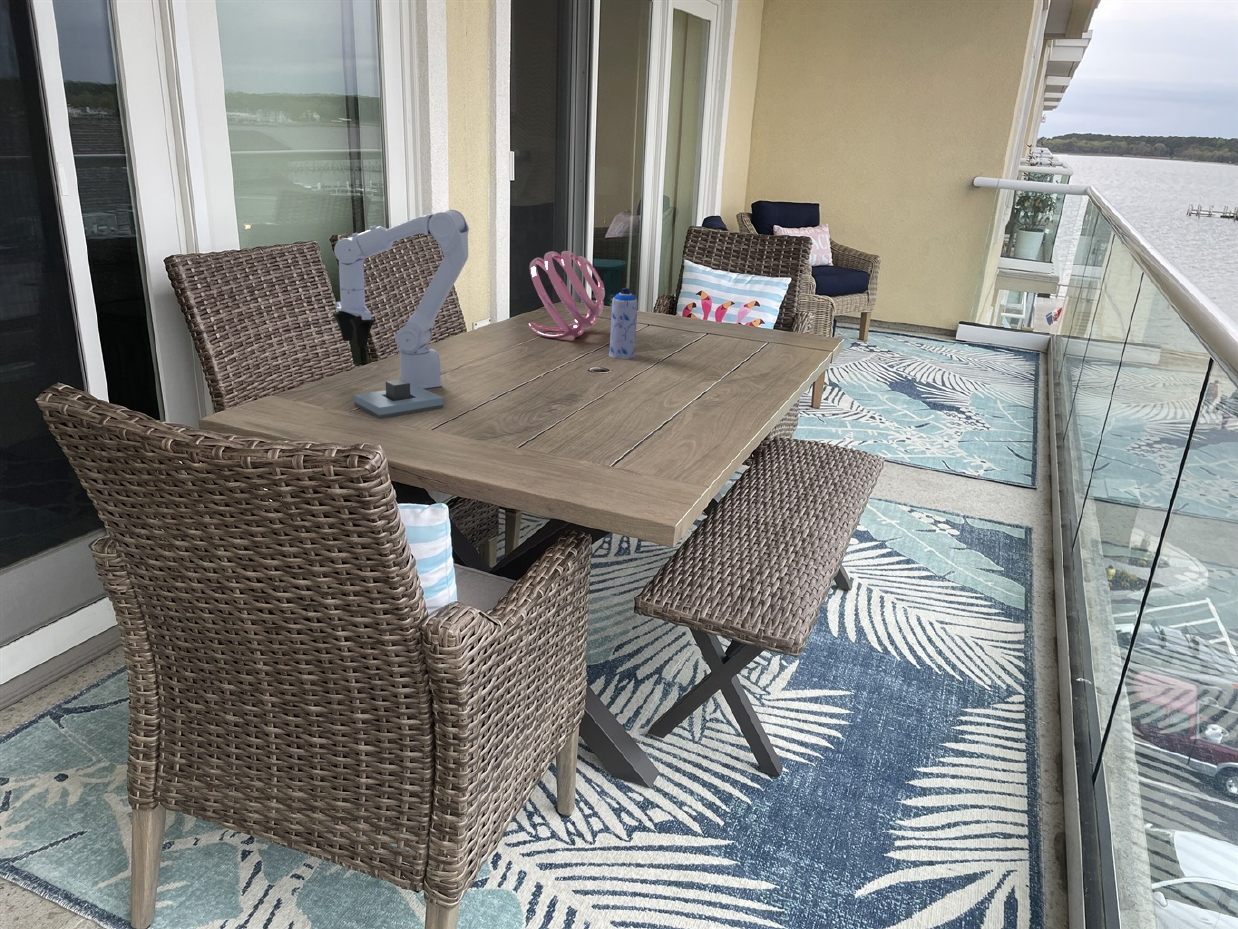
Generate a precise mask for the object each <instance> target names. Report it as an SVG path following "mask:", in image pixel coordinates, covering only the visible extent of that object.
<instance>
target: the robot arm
mask: <svg viewBox="0 0 1238 929" xmlns="http://www.w3.org/2000/svg"><path fill="white" fill-rule="evenodd" d="M469 230H470V228H469V225H468V222H467V221H466V218H465V216H464V214H462V213H461V212H460V211H459V210H456V209H449V210H446V211H443V212H441V211H440V212H435V213H430V214H425V215H420V216H417V217H414V218H412V219H410V220H407V221H405V222H403V223H400V224H398V225H396V226H395V225H394V226H392V227H391V228H387V227H384V226H381V225H379V226H377V225H376V224H375V225H371V226H369V230H368V229H367V230H366V231H363V232H360V233H358V232H355V233H352V234H351V237H348V238H346V237H345V238H341V239H339V241H338V242H336V244H335V245H334V250H333V251H334V252H333V253H334V256H335V258H336V259H337V260H338V270H339V272H338V273H339V274H338V275H339V291H340V292H339V294H340V301H336V302H335V303H336V311H337V312H336V311H335V312H332V315H333V317H334V319H335V321H336V323H337V325H338V327H339V332H340V334H341V335H340V336H341V337H342V341H343V342H351V341H353V340H354V339H353V338H354V337H353V336H355V343H356V347H357V348H366V347H367V345H368V342H369V335H370V331H371V330H372V327H373V326H374V324H375V319H374V318H372V312H371V311H372V310H371V311H370V310H369V309H368V307H367V306H366V296H365V295H366V294H365V293H366V291H365V270H364V260H365V259H367V258H370V257H373V256H376V255H379V254H380V253H383V252H387V251H389V250H391V249H392V247H393V244H394V243H395V242H397V241H400V240H403V239H405V238H409V237H411V236H415V235H419V234H420V233H421V234H423V235H424V236H425V235H426V236H430V235H432V237H433V238H434V241H436V243H438V245H439V246H440V249H441V251H442V254H443V258H442V261H441V262H440V264H439V266H438V268H437V270H436V271H435V274H434V276H433V278H432V279H431V281H430V283H429V285H428V287H427V289H426V291H425V292H424V294H423V296H422V298H421V300H420V302H419V303H418V305H417V307H416V309H415V311H414V312H413V314H412V315H411V316H410V317H409V318H408V320H407V321H406V323H405V324H404V326H403V327H401V328H399V329H398V330H397V332H396V334H395V338H394V339H395V344H396V345H397V348H399V380H400V379H402V380H404V381H406V382H409V383H410V387H411V386H419V387H421V388H423V389H425V390H426V389H430V388H437V387H442V386H443V384H442V383H441V358H440V354H439V352H438V351H437V350H436V349H434V348H430V346H429V343H430V342H431V341H432V338H433V329H434V328H435V327H434V326H435V325H436V321H435V320H436V318H437V316H438V315H439V313H440V311H441V309H442V308H443V305H444V304H445V302H446V300H447V298H448V296H449V294H450V292H451V290H452V289H453V287H454V286H455V283H456V281H457V279H458V277H459V276H460V274H461V272H462V270H463V268H464V267H465V264H466V263H467V261H468V258H469V237H468V236H469Z"/></svg>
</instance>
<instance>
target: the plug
mask: <svg viewBox="0 0 1238 929" xmlns="http://www.w3.org/2000/svg"><path fill="white" fill-rule="evenodd" d="M385 390H386V398H388V399H390V400H392V401H398V400H404V399H410V383H409V382H406V381H404V380H402V379H400V378H399V379H393V380H388V381H387V380H386V381H385Z"/></svg>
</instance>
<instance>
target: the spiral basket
mask: <svg viewBox="0 0 1238 929" xmlns="http://www.w3.org/2000/svg"><path fill="white" fill-rule="evenodd" d="M553 259H554V260H555V261H557V263H559V265H560V266H561V267H562V268H563V270H564V271H565V274H566V275H567V277H568V280H569V282H570V283H571V285H572V287H573V289H574V290H575V292H576V293H577V295H578V297H579V298H580V300H581V301H582V303H583V304H584V306H585V308H586V311H587V315H586V316H583V314H582V313H581V311H580V309H579V308H578V305H577V303H576V301H575V299H574V298H573V295H572V294H571V292H570V290H569V288H568V287H567V285H566V284H565V281H563V279H562V278H561V276H560V275H559V274H558V272H557V270H556V268H555V264H554V261H553ZM571 259H572V261H574V263H575V264H576V266H577V267H578V268H579V270H580V271H581V273H582V275H583V277H584V279H585V281H586V282H587V284H588V286H589V287H590V289H591V290H592V292H593V295H594V297H595V299H596V300H595V302H593V300H592V299H591V297H590V296H589V295H588V294H589V293H587V291H586V288H585V287H584V285H583V283H582V281H581V279H580V278H579V277H578V275H577V274H576V272H575V271H574V268H573V266H572V262H571ZM537 266H539V267H540V268H542V270H543V271H545V272H546V274H547V275H548V276H547V277H548V278H549V280H550V282H551V284H552V286H553V288H554V290H555V293H556V294H557V296H558V298H559V299H560V301H561V302H562V305H564V307H565V308H566V309H567V311H568V313H569V314H570V315H571V317H572V318H573V323H571V324H568V323H567V321H565V320H564V318H563V317H562V316H561V315H560V312H559V311H558V309H556V307H555V305H554V304H553V302H552V300H551V298H550V297H549V295H548V293H547V291H546V289H545V287H544V285H543V283H542V280H541V277H540V274H539V271H538V268H537ZM587 266H588V267H587ZM588 268H589V269H590V271H591V272H592V274H593V276H594V278H595V280H596V281H597V284H596V282H595V280H594V279H593V277H592V275H591V273H590V272H589V270H588ZM529 274H530V277H531V278H530V279H531V281H532V283H533V286H534V288H535V291H536V292H537V295H538V296H539V298H540V300H541V301H542V304H543V306H544V307H545V309H546V311H547V312H548V314H549V315H550V317H551V318H552V319H553V320H554V322H555V324H556V325H557V326H548V325H547V326H546V325H542V324H539V323H537V322H535V321H531V322H530V323H528V327H529V328H530V329H531V330H532V331H534V332H535V334H537V335H539V336H542V337H544V338H547V339H554V340H555V339H556V340H557V339H564V338H579V337H581V336H582V335H583V334H584V332H585V331H584V330H585V329H586V330H590V329H592V328H593V327H594V326H595V325H596V321H597V316H600V315H601V314H602V313H603V310H604V299H605V295H606V291H605V286H604V282H603V280H601V277H600V276H599V274H598V272H597V270H596V268H595V267H594V266H593V265H592V263H591V262H590V261H589V260H588V259H587V258H586V257H584V256H582V255H579V256H578V255H576V254H575V253H573V251H568V250H563V251H562V252H560V253H558V252H557V251H553V250H552V251H548V252H546V253H545V254H544V255H543V258H542V257H536V258H534V259H533V260H531V262H530V263H529ZM535 327H537V328H539V329H541V330H545V331H549V332H558V333H559V332H560V333H561V332H563V333H561V334H547V333H543V332H542V331H539V330H538V329H536V328H535Z"/></svg>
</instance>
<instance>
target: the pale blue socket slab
mask: <svg viewBox="0 0 1238 929" xmlns="http://www.w3.org/2000/svg"><path fill="white" fill-rule="evenodd" d="M354 406H356V407H358V408H359V409H361V410H363V411H365V412H367V413H368V414H371V415H372V416H374V417H375V418H377V419H385V418H391V417H392V418H393V417H398V416H404V415H409V414H416V413H423V412H428V411H432V410H433V411H435V410H439V409H443V408H444V397H443V396H441V395H438V394H436V393H434V392H431V391H429V390H427V389H426V388H425V389H423V388H421V387H419V386H411V387H410V399H404V400H398V401H392V400H390V399H388V398H386V389H385V390H377V391H371V392H364V393H358V394H354ZM427 410H428V411H427Z"/></svg>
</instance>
